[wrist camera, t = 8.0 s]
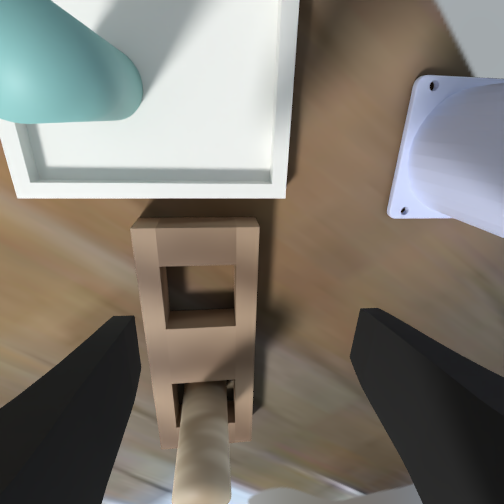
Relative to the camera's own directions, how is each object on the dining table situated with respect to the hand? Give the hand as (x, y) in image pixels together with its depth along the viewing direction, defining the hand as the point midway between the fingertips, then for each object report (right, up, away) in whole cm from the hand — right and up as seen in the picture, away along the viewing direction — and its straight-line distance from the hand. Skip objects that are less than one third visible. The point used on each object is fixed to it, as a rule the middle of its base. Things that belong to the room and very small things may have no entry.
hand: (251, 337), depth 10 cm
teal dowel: (-7, +11, +5) cm, 14 cm away
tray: (-5, +11, +6) cm, 14 cm away
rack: (-4, -3, +12) cm, 13 cm away
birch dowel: (-4, -8, +14) cm, 16 cm away
